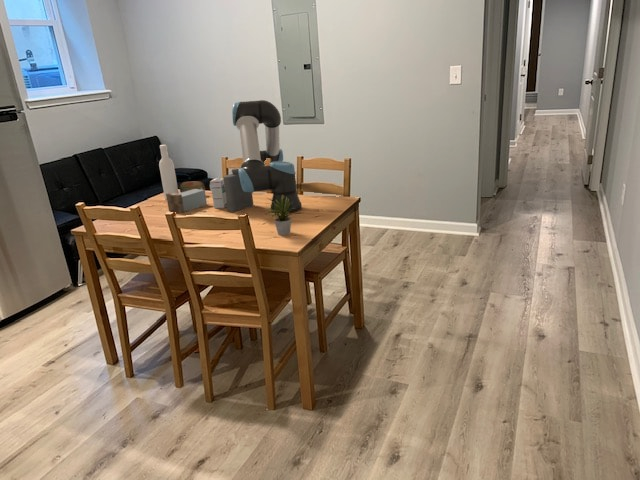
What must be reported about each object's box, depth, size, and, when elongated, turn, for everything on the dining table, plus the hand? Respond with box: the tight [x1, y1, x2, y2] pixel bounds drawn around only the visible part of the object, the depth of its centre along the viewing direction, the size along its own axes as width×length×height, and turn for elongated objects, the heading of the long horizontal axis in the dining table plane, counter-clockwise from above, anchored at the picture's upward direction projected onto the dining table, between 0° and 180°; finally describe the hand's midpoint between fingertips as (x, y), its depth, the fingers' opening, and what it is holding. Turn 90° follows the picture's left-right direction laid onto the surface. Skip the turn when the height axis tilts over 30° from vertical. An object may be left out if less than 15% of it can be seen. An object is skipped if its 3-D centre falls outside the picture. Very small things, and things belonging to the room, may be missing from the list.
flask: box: [222, 168, 254, 213], centre depth 251 cm, size 15×6×20 cm, turn 135°
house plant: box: [265, 195, 296, 236], centre depth 210 cm, size 14×14×16 cm
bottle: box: [158, 144, 180, 201], centre depth 280 cm, size 8×8×30 cm
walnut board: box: [166, 193, 185, 214], centre depth 256 cm, size 10×2×9 cm, turn 53°
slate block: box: [178, 189, 208, 213], centre depth 262 cm, size 8×15×8 cm, turn 143°
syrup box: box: [209, 177, 227, 209], centre depth 257 cm, size 6×6×14 cm
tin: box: [179, 180, 206, 193], centre depth 286 cm, size 15×3×8 cm, turn 76°
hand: (210, 187), depth 273 cm, fingers closed
